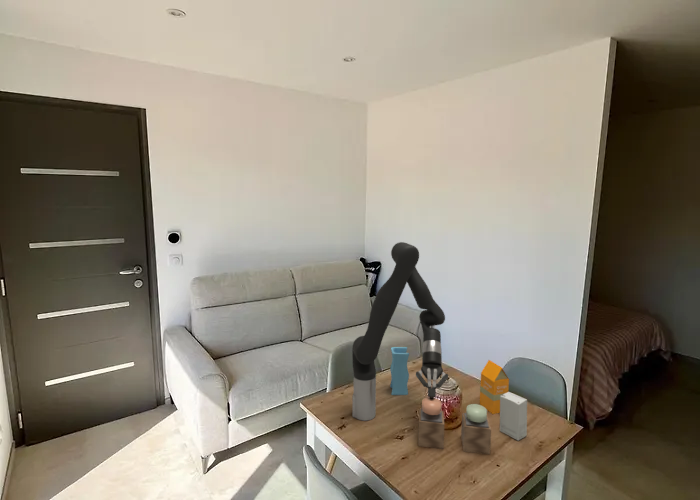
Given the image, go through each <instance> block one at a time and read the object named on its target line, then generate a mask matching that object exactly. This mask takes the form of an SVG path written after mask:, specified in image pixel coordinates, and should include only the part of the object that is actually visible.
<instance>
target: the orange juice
mask: <svg viewBox="0 0 700 500" xmlns="http://www.w3.org/2000/svg"><path fill="white" fill-rule="evenodd" d="M509 386H510V379H509V377H508V375H507V374H506V372H505V371H504V369H503V367H502V366H500V365H499V364H497V363H495V362H493V361H492V360H490V359H488V361H487V362H486V364H485V365H484V367H483V369H482V370H481V372H480V386H479V387H480V388H479V405H481V406H483V407H485V408H486V409H487V412H488V413H490V414H492V415H496V414H500V396H501V395H503V394H505V393H507V392H509V390H510V388H509Z"/></svg>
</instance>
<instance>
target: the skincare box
mask: <svg viewBox="0 0 700 500" xmlns="http://www.w3.org/2000/svg"><path fill="white" fill-rule="evenodd" d="M527 427H528V399H526V398H524V397H523V396H520V395H517V394H515V393H512V392H510V391H508V392H507V393H505V394H503V395H501V396H500V413H499V431H500V432H501V433H503V434H505V435H507V436H508V437H510V438H512V439H514V440H516V441H520V440H523V439H524V438H526V437H527V434H528V431H527V430H528V428H527Z"/></svg>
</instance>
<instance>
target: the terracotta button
mask: <svg viewBox="0 0 700 500" xmlns="http://www.w3.org/2000/svg"><path fill="white" fill-rule="evenodd" d="M421 409H422V411H423V412H424V413H426V414H429V415H438V414H440V413H441V411H442V401H441V400H440V399H438V398H436V397H434V399H430V397H428V396H427V397H425V398H423V399H422V400H421Z"/></svg>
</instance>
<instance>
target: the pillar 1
mask: <svg viewBox="0 0 700 500" xmlns="http://www.w3.org/2000/svg"><path fill="white" fill-rule="evenodd" d="M444 416H445V415H444V410H441V413H440V414H438V415H429V414H426V413H424V412H423V411H422V408H418V439H417V440H418V445H417V446H418V447H424V448H425V447H426V448H432V449H439V450H440V449H441V450H444V443H445V418H444Z"/></svg>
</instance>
